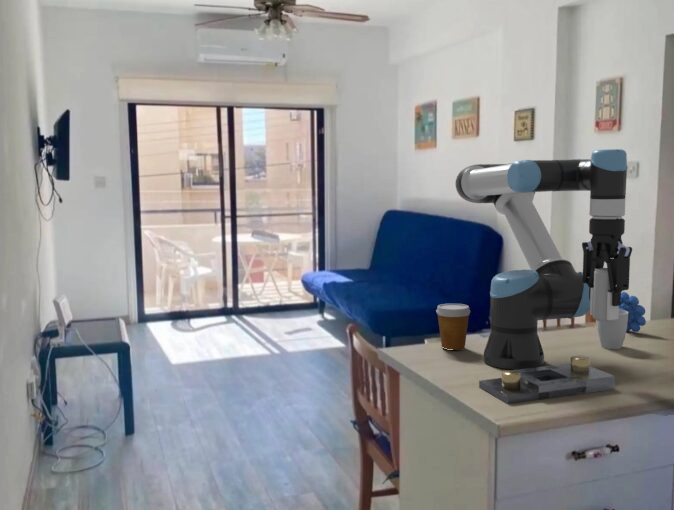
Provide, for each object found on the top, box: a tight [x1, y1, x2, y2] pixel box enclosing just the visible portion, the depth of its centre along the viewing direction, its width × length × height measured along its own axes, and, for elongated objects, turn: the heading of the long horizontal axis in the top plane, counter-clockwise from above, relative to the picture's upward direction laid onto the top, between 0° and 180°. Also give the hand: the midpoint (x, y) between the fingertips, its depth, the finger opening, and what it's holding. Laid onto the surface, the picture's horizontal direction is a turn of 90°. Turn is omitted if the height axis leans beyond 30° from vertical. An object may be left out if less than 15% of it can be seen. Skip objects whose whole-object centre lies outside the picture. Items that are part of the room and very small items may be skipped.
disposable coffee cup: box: [435, 303, 471, 351], centre depth 181 cm, size 10×10×12 cm
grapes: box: [619, 291, 647, 333], centre depth 196 cm, size 12×7×12 cm, turn 33°
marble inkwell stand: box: [478, 355, 616, 405], centre depth 145 cm, size 12×27×6 cm, turn 107°
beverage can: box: [592, 267, 613, 322], centre depth 150 cm, size 5×5×12 cm
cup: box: [596, 309, 628, 350], centre depth 179 cm, size 8×8×10 cm
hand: (603, 316), depth 151 cm, fingers closed on beverage can, 5 cm apart
